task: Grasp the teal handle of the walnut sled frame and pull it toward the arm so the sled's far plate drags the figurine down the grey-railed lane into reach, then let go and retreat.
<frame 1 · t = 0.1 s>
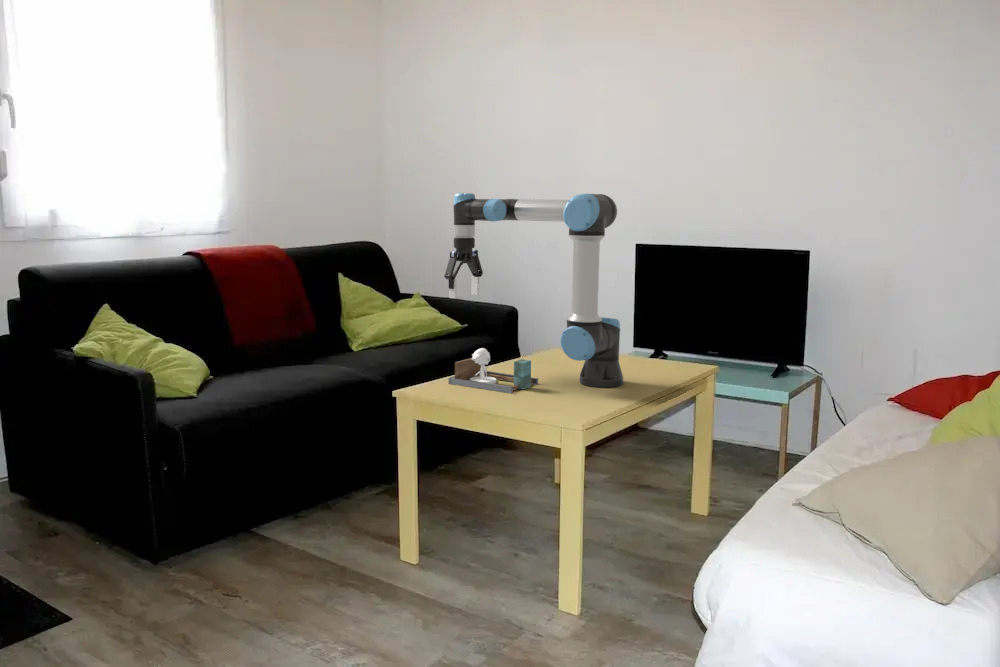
hand: (464, 296, 311), 28 cm above the table, fingers open, 13 cm apart
sled: (496, 370, 296), point 5 cm above the table, slide at 0.0 cm
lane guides: (492, 383, 298), on the table
figurine: (482, 382, 300), resting in sled
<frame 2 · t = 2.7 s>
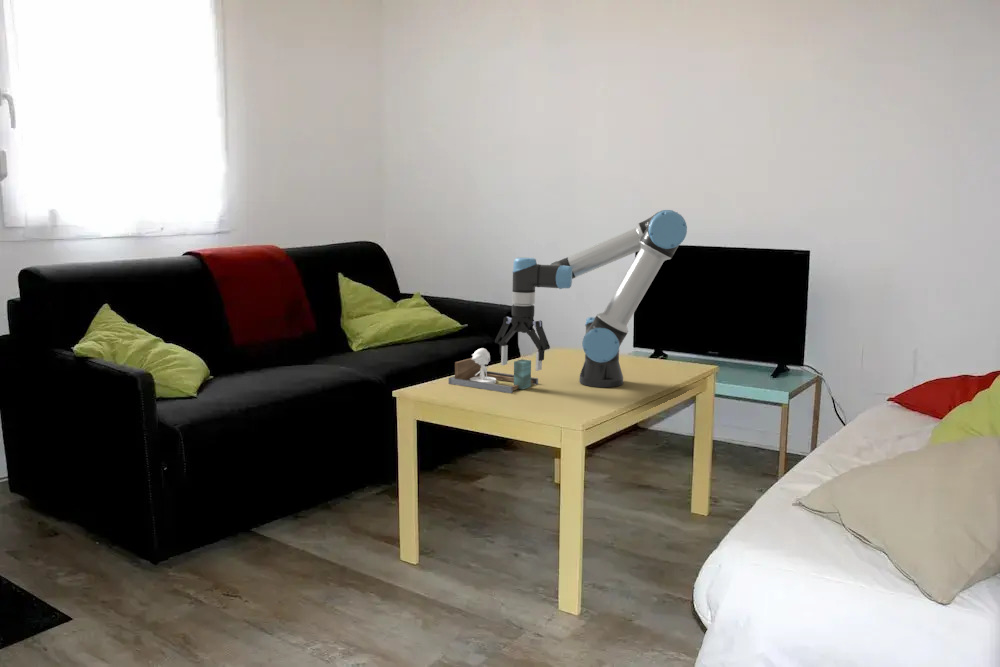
hand: (521, 367, 290), 7 cm above the table, fingers open, 13 cm apart
nothing on the table moved.
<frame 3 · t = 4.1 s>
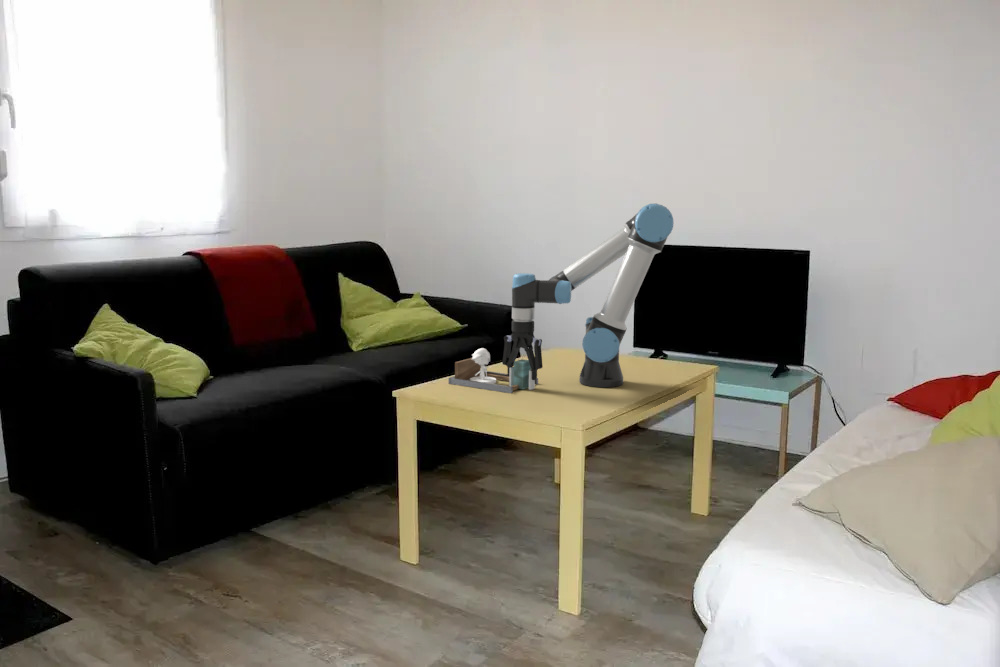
hand: (521, 387, 291), 0 cm above the table, fingers open, 7 cm apart
nothing on the table moved.
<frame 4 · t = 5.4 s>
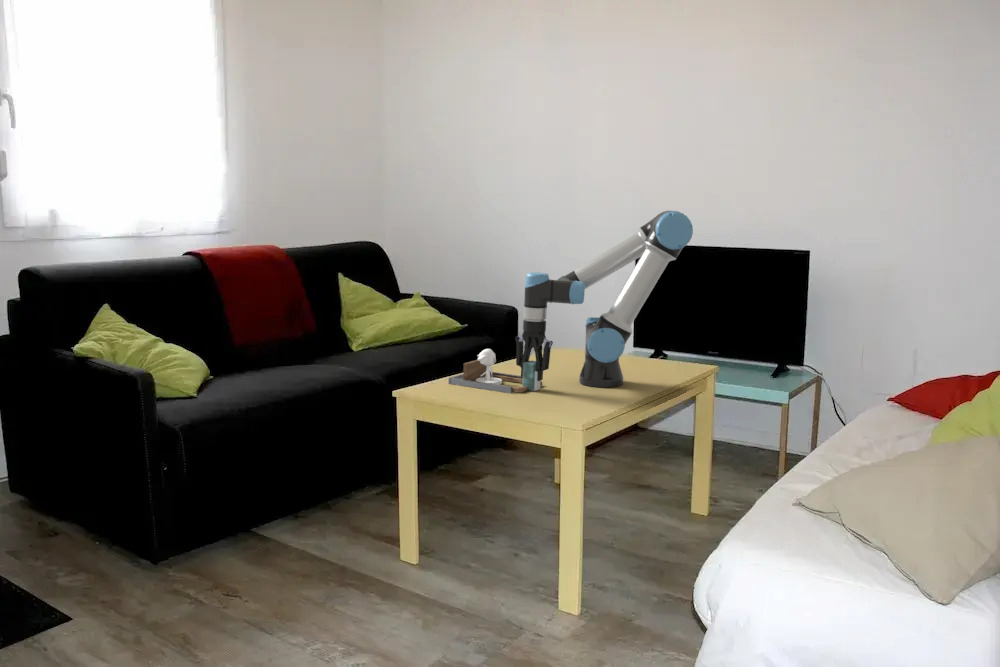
hand: (531, 388, 289), 0 cm above the table, fingers closed on sled, 4 cm apart
sled: (505, 371, 294), point 5 cm above the table, slide at 3.6 cm, touching figurine, gripper
figurine: (488, 383, 298), resting in sled
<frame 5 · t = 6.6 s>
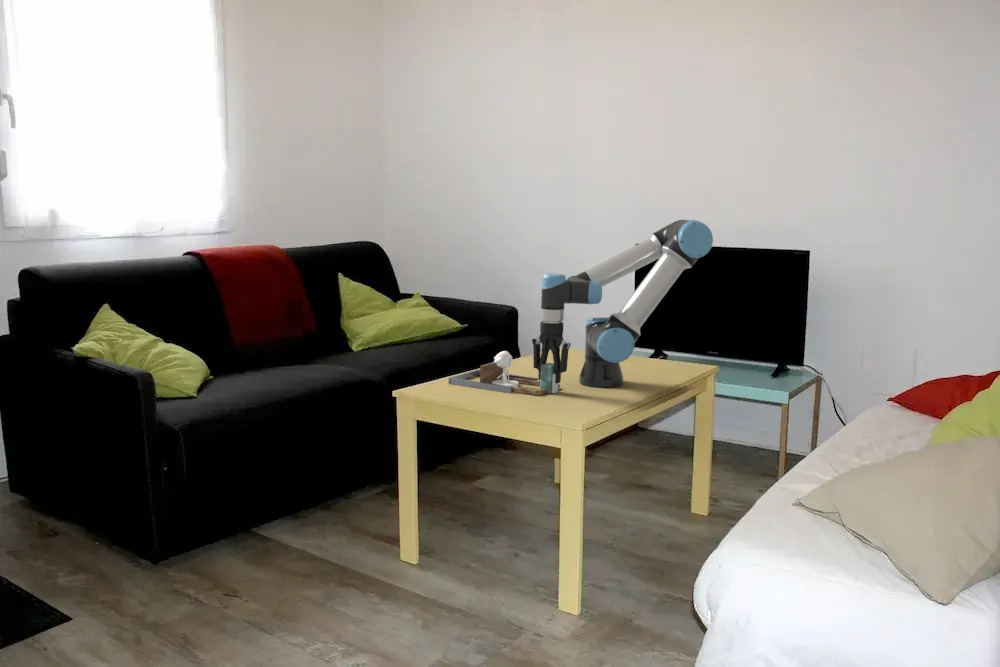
hand: (548, 391, 285), 0 cm above the table, fingers closed on sled, 4 cm apart
sled: (522, 374, 290), point 5 cm above the table, slide at 10.5 cm, touching figurine, gripper
figurine: (505, 386, 295), resting in sled
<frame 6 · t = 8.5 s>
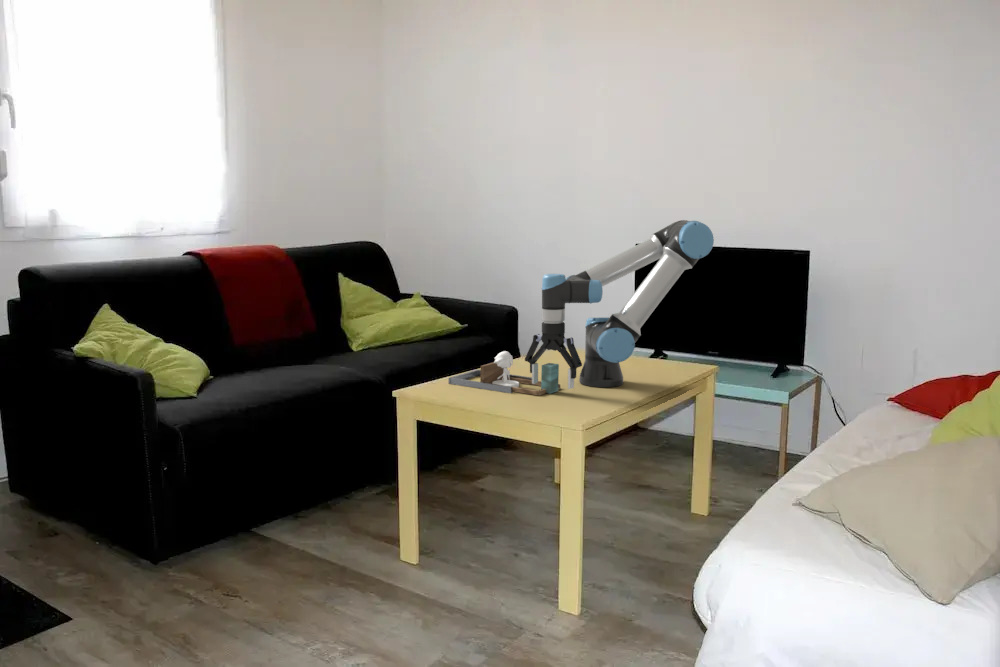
hand: (552, 385, 285), 2 cm above the table, fingers open, 13 cm apart
sled: (522, 374, 290), point 5 cm above the table, slide at 10.7 cm
figurine: (505, 386, 295), resting in sled
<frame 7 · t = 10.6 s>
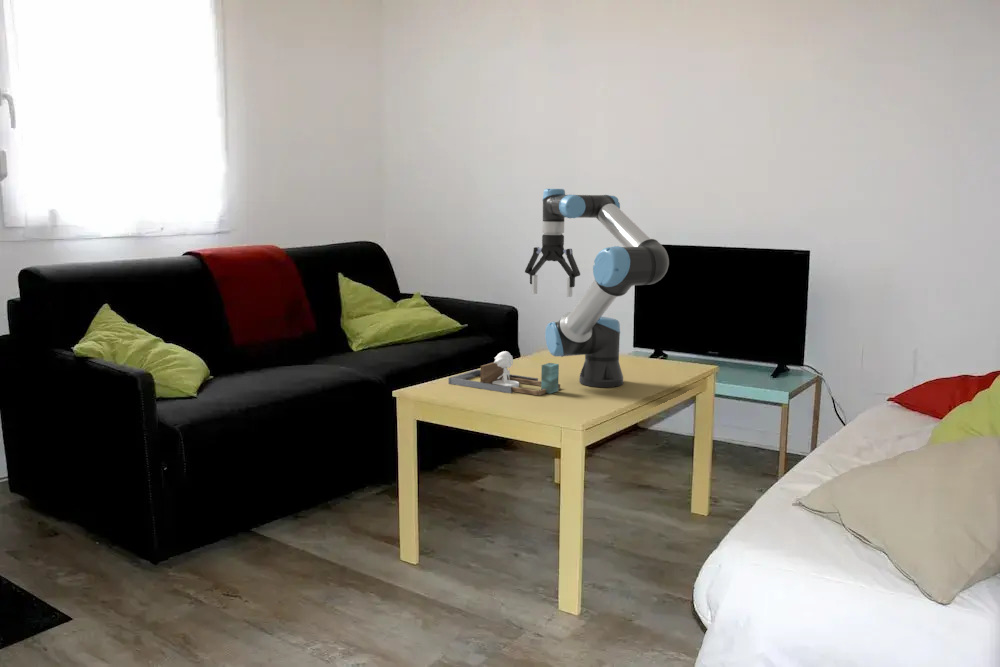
hand: (551, 295, 302), 30 cm above the table, fingers open, 13 cm apart
nothing on the table moved.
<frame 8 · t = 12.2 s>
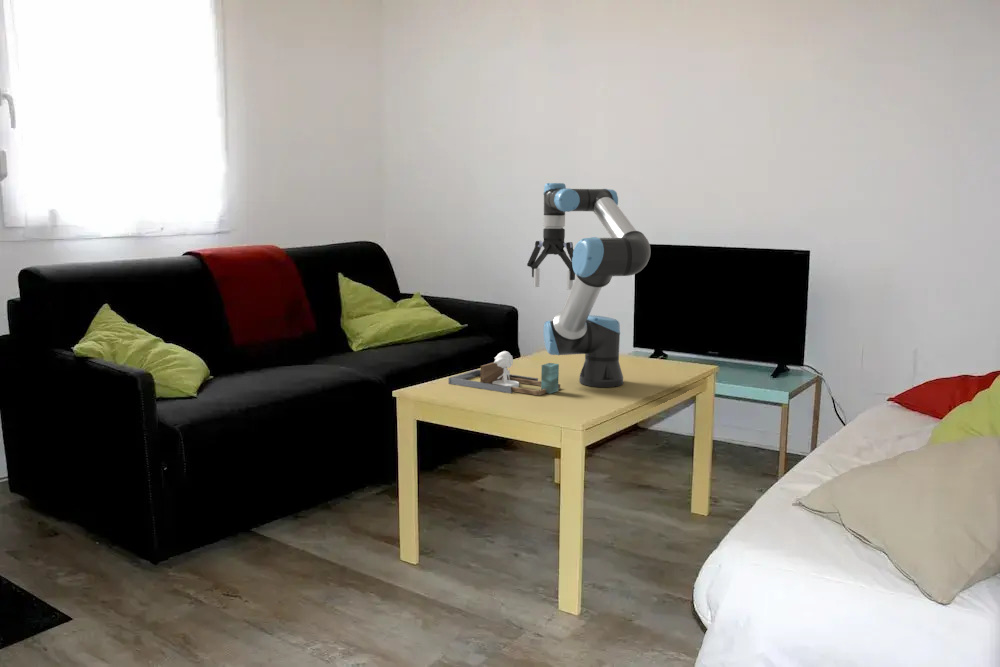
hand: (552, 288, 306), 32 cm above the table, fingers open, 13 cm apart
nothing on the table moved.
at the end: sled slide at 10.7 cm; figurine inside the target area (1.1 cm from its centre), resting in sled; figurine tilted 0° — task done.
